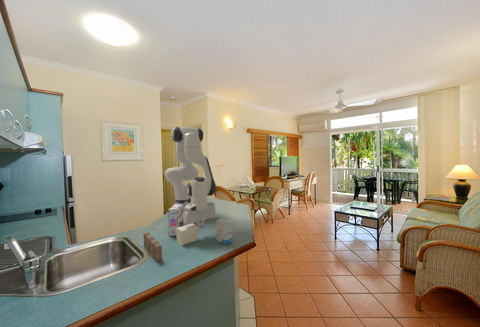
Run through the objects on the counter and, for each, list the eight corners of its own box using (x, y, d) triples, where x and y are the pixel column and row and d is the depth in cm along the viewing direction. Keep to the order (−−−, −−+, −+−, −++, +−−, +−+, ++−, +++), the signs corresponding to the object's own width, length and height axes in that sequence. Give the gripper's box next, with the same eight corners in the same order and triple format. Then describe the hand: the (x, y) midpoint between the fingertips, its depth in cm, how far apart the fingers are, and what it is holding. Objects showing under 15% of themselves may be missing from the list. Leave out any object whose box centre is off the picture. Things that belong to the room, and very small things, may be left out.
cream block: (176, 241, 109) (176, 227, 108) (192, 236, 115) (192, 223, 115) (181, 245, 104) (180, 231, 104) (197, 239, 111) (197, 226, 110)
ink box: (232, 242, 107) (232, 221, 106) (226, 245, 104) (225, 223, 103) (223, 237, 113) (222, 217, 113) (216, 240, 110) (215, 219, 109)
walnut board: (144, 246, 104) (143, 233, 103) (148, 244, 105) (148, 232, 105) (156, 261, 89) (156, 246, 89) (162, 259, 91) (161, 245, 90)
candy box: (178, 236, 116) (177, 209, 115) (168, 236, 115) (167, 209, 115) (184, 227, 129) (184, 203, 128) (176, 227, 129) (175, 203, 128)
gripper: (211, 200, 124) (212, 222, 124) (181, 207, 110) (182, 230, 111) (217, 202, 119) (217, 224, 120) (186, 209, 105) (187, 234, 106)
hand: (200, 227), depth 115 cm, fingers closed
